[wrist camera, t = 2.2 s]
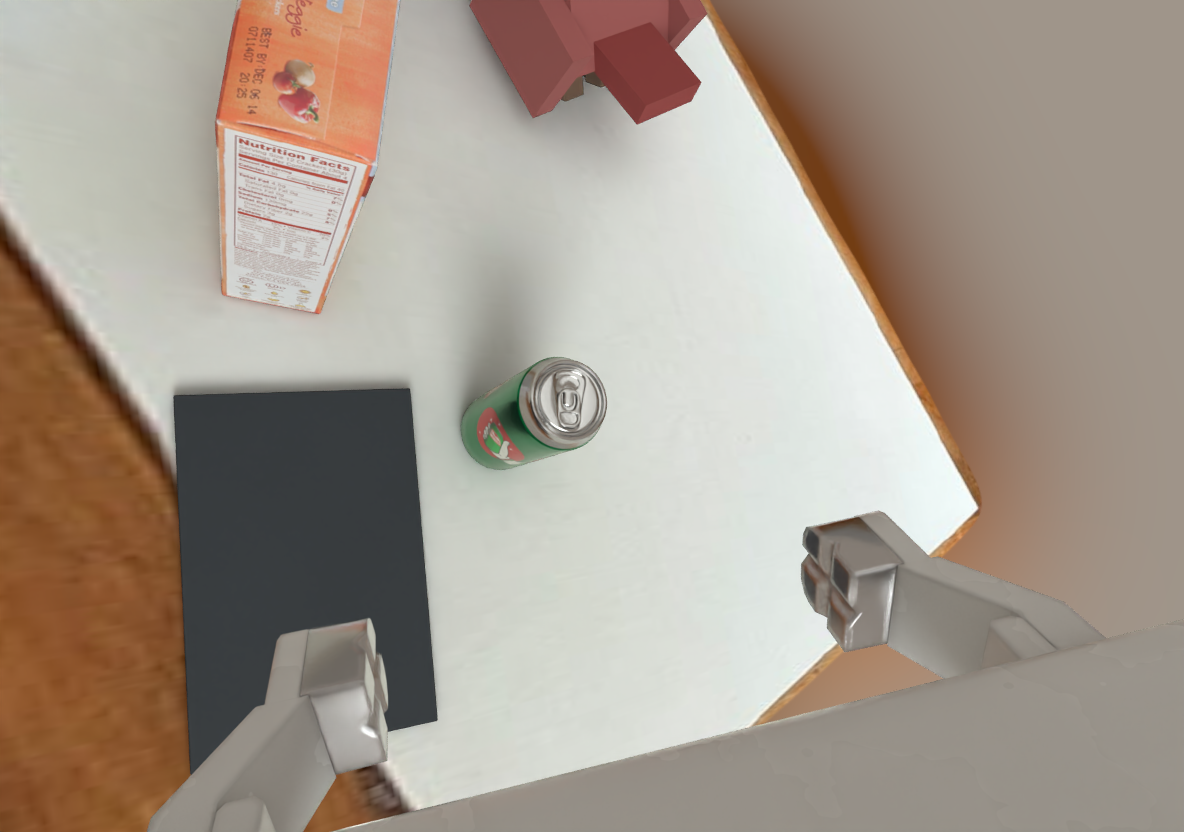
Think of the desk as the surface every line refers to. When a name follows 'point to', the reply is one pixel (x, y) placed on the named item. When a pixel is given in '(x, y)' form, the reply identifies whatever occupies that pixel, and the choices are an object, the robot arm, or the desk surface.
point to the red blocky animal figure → (594, 50)
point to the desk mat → (297, 544)
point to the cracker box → (298, 141)
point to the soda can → (535, 414)
